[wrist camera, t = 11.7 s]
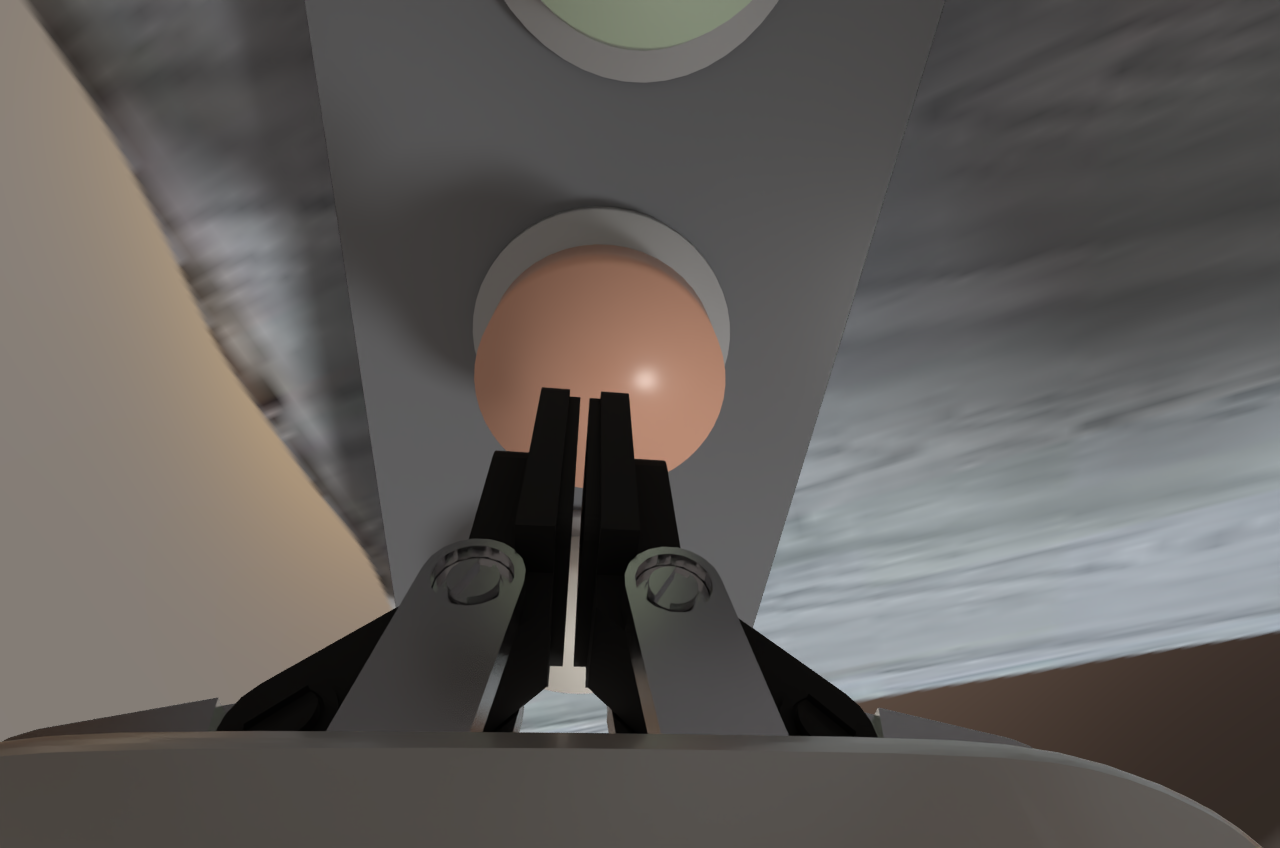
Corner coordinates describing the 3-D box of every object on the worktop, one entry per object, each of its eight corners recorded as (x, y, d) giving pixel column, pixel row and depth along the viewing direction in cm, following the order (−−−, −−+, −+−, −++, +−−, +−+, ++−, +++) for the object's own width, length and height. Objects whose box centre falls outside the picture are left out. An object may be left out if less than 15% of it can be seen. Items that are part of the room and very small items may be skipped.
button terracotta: (733, 257, 14) (748, 279, 13) (695, 458, 17) (703, 496, 16) (485, 231, 14) (468, 251, 12) (490, 444, 17) (478, 481, 15)
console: (986, -344, 12) (1106, -479, 9) (726, 618, 28) (740, 684, 25) (300, -485, 11) (184, -693, 8) (424, 605, 26) (400, 673, 23)
